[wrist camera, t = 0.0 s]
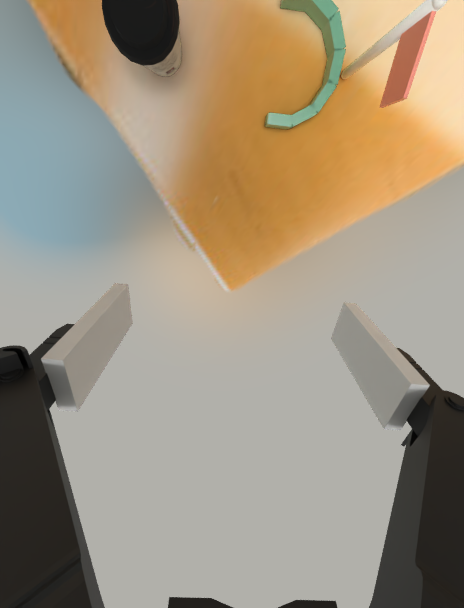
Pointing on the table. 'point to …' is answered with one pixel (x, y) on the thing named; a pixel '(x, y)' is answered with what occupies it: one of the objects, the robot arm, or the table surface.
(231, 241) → the table surface
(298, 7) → the cup ring
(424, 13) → the flag
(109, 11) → the coffee cup
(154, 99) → the table surface
